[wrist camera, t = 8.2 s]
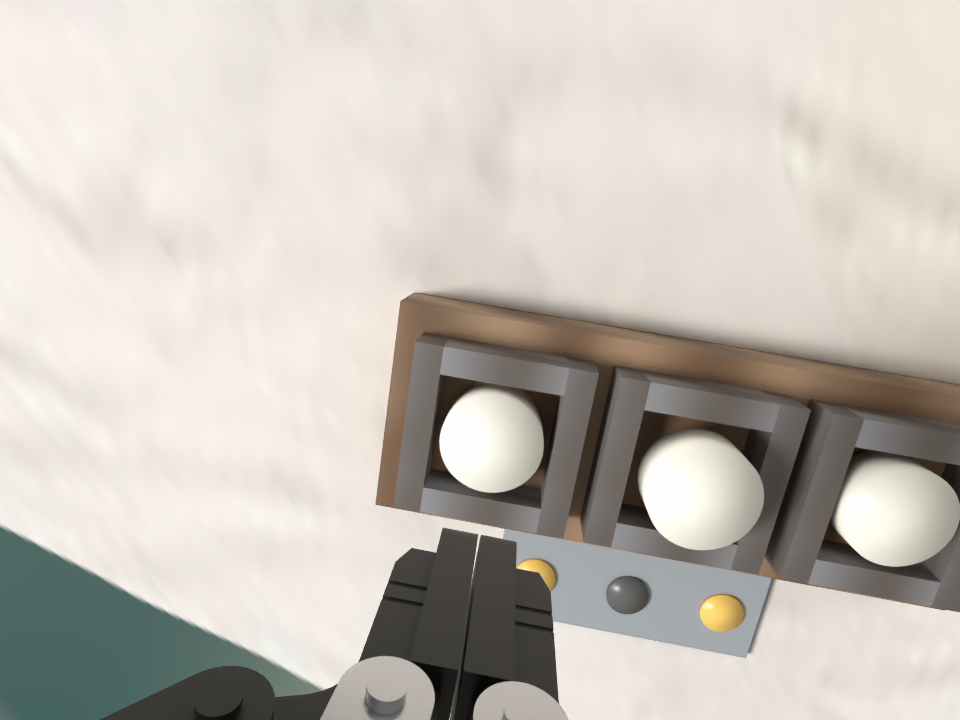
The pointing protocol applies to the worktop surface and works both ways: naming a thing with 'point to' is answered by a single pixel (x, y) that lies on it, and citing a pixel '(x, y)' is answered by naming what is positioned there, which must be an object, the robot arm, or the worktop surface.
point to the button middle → (699, 489)
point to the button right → (894, 509)
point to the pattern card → (645, 594)
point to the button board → (651, 415)
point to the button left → (492, 438)
